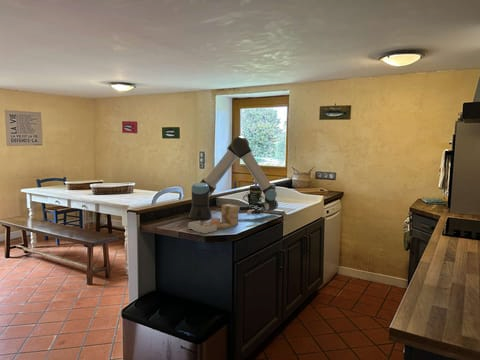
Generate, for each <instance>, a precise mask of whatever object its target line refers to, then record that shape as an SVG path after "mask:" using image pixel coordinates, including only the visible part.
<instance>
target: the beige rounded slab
mask: <svg viewBox="0 0 480 360" xmlns="http://www.w3.org/2000/svg"><path fill="white" fill-rule="evenodd" d="M201 222H202V220H194V221H190V222H188V224H187V226H188V228H187V230H189V229H192V230H195V231H194V232H196V231H198V232H197V233H199V232H202V233H201V234H203V233H207V234H209V233H208V232H211V233H214V232H213V231H216V232H218V230H217V224H215V225H211V226H206V227H204V226H201V224H202V223H201ZM192 230H191V231H192Z"/></svg>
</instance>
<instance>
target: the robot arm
mask: <svg viewBox="0 0 480 360" xmlns="http://www.w3.org/2000/svg"><path fill="white" fill-rule="evenodd" d="M249 143H250V142H249V140H248V139H247V138H246V137H244V136H239V135H238V136H236V137H234V138H233V139H232V140H231V143H230V144H229V145H228V146H227V148H226V150H227V151H226V153H225V154H224V155H223V156H222V158H221V159H220V160H219V161H218V162H217V163H216V165H215V166H214V167H213V169H212V170H211V171H210V173H209V174H208V175H207V177H204V178H202V180H201V181H199V182H196V183H195V182H194V183H193V184H192V185H191V209H190V212H189V215H188V218H189V219H190V218H191V219H190V220H193V219H195V220H194V221H207V220H211V218H213V217H212V212H211V209H210V197H211V196H212V194H213V193H214V192H215V190H216V189H217V185H218V183H219V182H220V181H221V180H222V178H223V177H224V176H225V175H226V173H228V171H229V170H230V168H231V167H232V166H233V164H234V163H235V162H236V161H237V160H238V159H240V160H242V162H243V163H244V165H245V167H246V168H247V169H248V171H249V172H250V174H251V176H252V177H253V179H254V180H255V183H257V186H259V187H260V188H261V190H262V193H263V195H264V200H261V201H262V202H257V203H255V204H254V205H252V206H250V205H249V204H248V205H237V206H238V212H241V211H246V215H247V216H250V215H251V216H252V215H255V214H256V215H257V214H258V215H260V214H263V213H266V212H271V211H272V212H273V211H275V210H277V209H278V207H279V203H278V201H277V200H276V198H277V194H278V193H277V191H276V184H275V183H271V181H270V180H269V179H268V177H267V176H266V174H265V173H264V171H263V169H262V168H261V166H260V165H259V163H258V161H257V159H256V158H255V157H254V155H253V152H252V149H251V148H250V144H249Z"/></svg>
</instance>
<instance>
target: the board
mask: <svg viewBox="0 0 480 360" xmlns="http://www.w3.org/2000/svg"><path fill="white" fill-rule="evenodd" d="M201 226H204V227H206V226H211V225H210V221H208V222H204V223H201ZM229 227H230V228H231V226H230V224H227V223H223V222H221V221H220V225H219V226H217V231H221V230H220V229H222V230H226V229H230V228H229ZM225 228H226V229H225Z"/></svg>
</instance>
